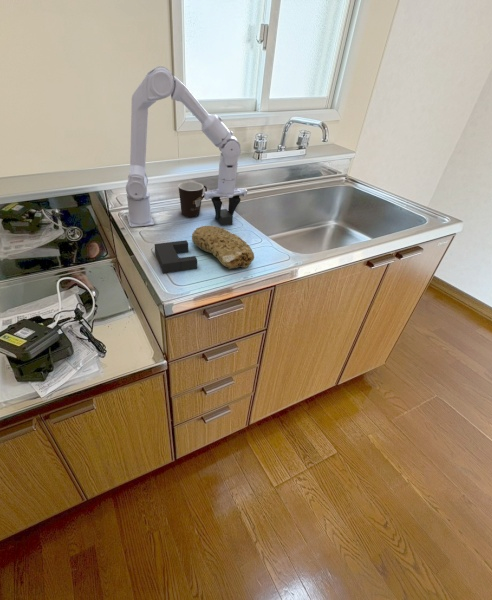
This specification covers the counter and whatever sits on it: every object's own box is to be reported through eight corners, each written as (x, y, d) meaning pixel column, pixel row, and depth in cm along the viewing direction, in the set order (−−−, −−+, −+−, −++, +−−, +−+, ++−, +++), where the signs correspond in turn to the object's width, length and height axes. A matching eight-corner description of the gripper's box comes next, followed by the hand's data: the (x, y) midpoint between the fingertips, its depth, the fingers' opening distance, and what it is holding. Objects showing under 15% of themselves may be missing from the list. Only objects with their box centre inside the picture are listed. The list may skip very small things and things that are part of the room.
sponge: (256, 269, 90) (226, 226, 101) (259, 250, 84) (226, 206, 95) (214, 285, 88) (188, 239, 98) (213, 266, 81) (185, 219, 92)
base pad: (155, 252, 92) (154, 243, 90) (186, 249, 95) (186, 240, 93) (163, 273, 84) (162, 264, 82) (197, 268, 87) (197, 259, 85)
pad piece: (215, 217, 113) (215, 209, 111) (225, 216, 114) (226, 208, 112) (221, 225, 108) (222, 217, 106) (232, 224, 109) (233, 216, 107)
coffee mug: (182, 220, 110) (182, 191, 104) (175, 210, 116) (175, 182, 110) (213, 216, 114) (215, 188, 107) (205, 207, 120) (206, 180, 113)
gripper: (209, 183, 97) (207, 224, 105) (253, 180, 101) (247, 220, 109) (202, 175, 102) (201, 215, 110) (244, 173, 106) (239, 211, 114)
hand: (223, 217), depth 110 cm, fingers closed on pad piece, 4 cm apart
